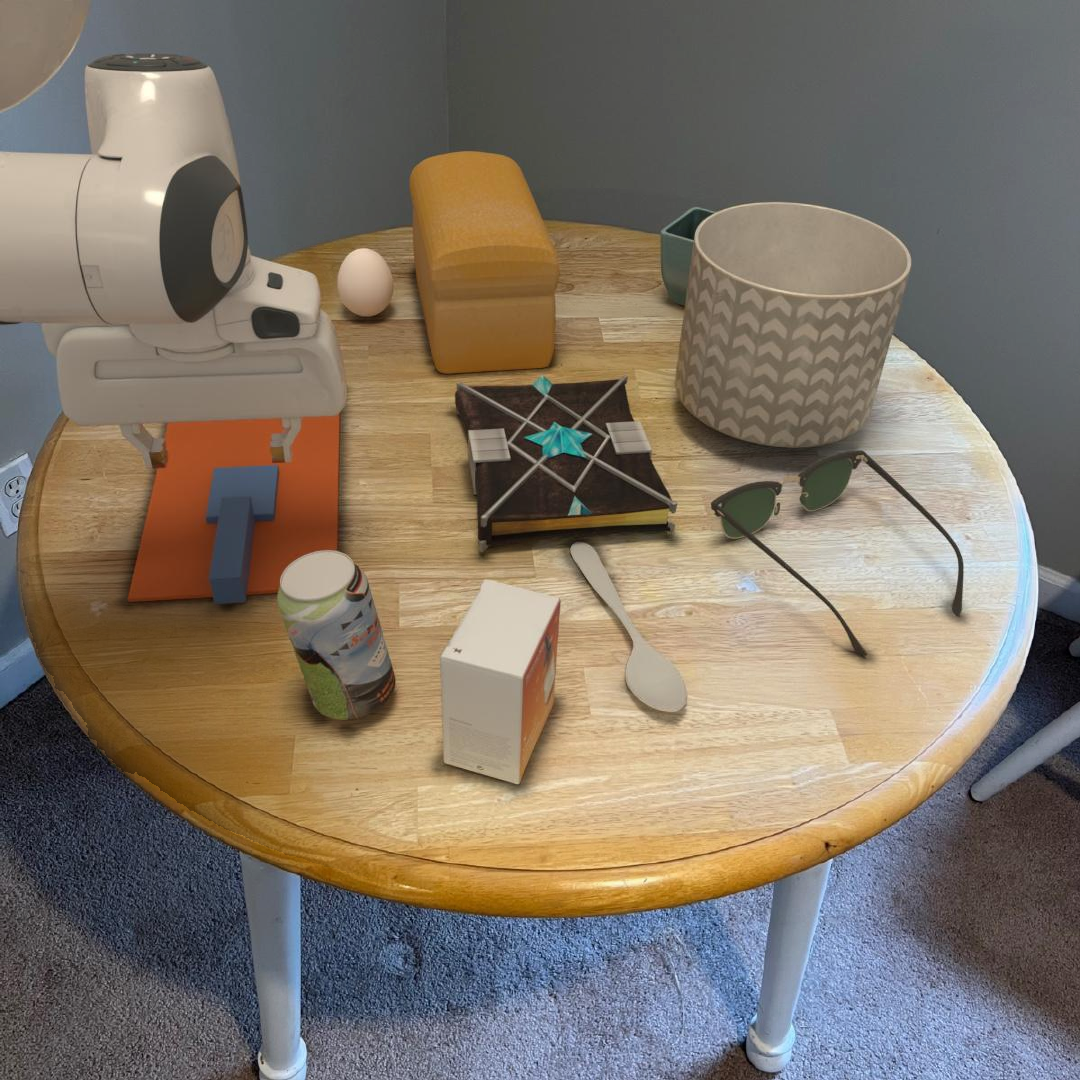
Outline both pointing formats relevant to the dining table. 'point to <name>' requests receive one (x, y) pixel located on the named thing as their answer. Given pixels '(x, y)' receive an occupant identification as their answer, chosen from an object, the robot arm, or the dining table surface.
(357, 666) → the beverage can
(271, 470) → the blue stepped bar
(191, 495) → the flat orange board
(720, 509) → the sunglasses
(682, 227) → the flower pot
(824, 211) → the planter
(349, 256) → the egg
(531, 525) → the book
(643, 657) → the spoon
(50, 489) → the dining table surface
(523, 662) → the small box
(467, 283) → the bread
